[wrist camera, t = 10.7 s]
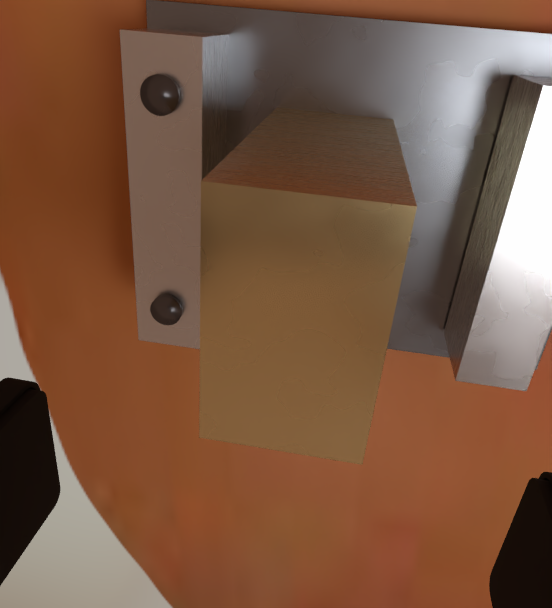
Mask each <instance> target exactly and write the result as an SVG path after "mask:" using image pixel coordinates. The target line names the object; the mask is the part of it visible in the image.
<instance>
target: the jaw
mask: <svg viewBox="0 0 552 608" xmlns="http://www.w3.org/2000/svg"><path fill="white" fill-rule="evenodd" d="M551 326H552V78H544V77H533V76H522V75H513V79H512V82H511V86H510V90H509V93H508V97H507V101H506V105H505V108H504V112H503V116H502V119H501V123H500V127H499V130H498V134H497V138H496V142H495V145H494V149H493V153H492V156H491V160H490V164H489V167H488V171H487V175H486V179H485V182H484V186H483V190H482V193H481V197H480V201H479V204H478V208H477V212H476V216H475V219H474V223H473V227H472V230H471V234H470V238H469V241H468V245H467V249H466V253H465V256H464V260H463V264H462V267H461V271H460V275H459V279H458V282H457V286H456V290H455V293H454V297H453V301H452V304H451V308H450V312H449V316H448V319H447V323H446V327H445V330H444V336H445V340H446V344H447V348H448V352H449V357H450V361H451V365H452V369H453V373H454V377H455V381H462V382H469V383H475V384H482V385H489V386H496V387H502V388H509V389H516V390H522V391H527V388H528V385H529V383H530V380H531V378H532V375H533V372H534V370H535V367H536V365H537V362H538V359H539V357H540V354H541V352H542V349H543V346H544V344H545V341H546V339H547V336H548V333H549V331H550V328H551Z"/></svg>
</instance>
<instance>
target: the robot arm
mask: <svg viewBox="0 0 552 608" xmlns="http://www.w3.org/2000/svg"><path fill="white" fill-rule="evenodd" d="M59 495H60V482H59V475H58V469H57V462H56V456H55V449H54V443H53V436H52V430H51V423H50V416H49V410H48V403H47V397H46V394H45V393H44V392H43V391H40V388H39V385H38V384H37V383H35V382H30V381H25V380H19V379H13V378H5V379H3V380H2V381H0V585H1V584H2V582H3V581H4V579H5V578H6V577H7V575H8V574H9V572H10V571H11V569H12V568H13V566H14V565H15V563H16V562H17V560H18V559H19V558H20V556H21V555H22V553H23V552H24V550H25V549H26V547H27V546H28V544H29V543H30V542H31V540H32V539H33V537H34V536H35V534H36V533H37V531H38V530H39V529H40V527H41V526H42V524H43V523H44V521H45V520H46V518H47V517H48V515H49V514H50V513H51V511H52V510H53V508H54V506H55V505H56V503H57V501H58V498H59ZM489 587H490V596H491V601H492V606H493V608H552V473H550V472H543V473H542V474H541V475H540V477H539V479H537V478H531V479H530V480H529V482H528V484H527V487H526V489H525V492H524V494H523V496H522V499H521V501H520V504H519V506H518V509H517V511H516V513H515V516H514V518H513V521H512V523H511V526H510V528H509V530H508V533H507V535H506V538H505V540H504V543H503V545H502V547H501V550H500V552H499V555H498V557H497V560H496V562H495V564H494V567H493V569H492V572H491V575H490V584H489Z"/></svg>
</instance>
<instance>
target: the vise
mask: <svg viewBox="0 0 552 608" xmlns="http://www.w3.org/2000/svg"><path fill="white" fill-rule="evenodd" d="M146 9H147V29H120V44H121V60H122V77H123V93H124V109H125V126H126V142H127V158H128V175H129V191H130V208H131V224H132V240H133V257H134V273H135V289H136V306H137V322H138V338H139V340H142V341H149V342H155V343H162V344H169V345H175V346H182V347H189V348H195V349H200V240H201V180H202V179H203V178H204V177H206V176H207V175H208V174H209V173H210V172H211V171H212V170H213V169H214V168H215V167H216V166H217V165H218V164H219V163H220V162H221V161H222V160H223V159H224V158H225V157H226V156H227V155H228V154H229V153H230V152H231V151H232V150H233V149H234V148H236V147H237V146H238V145H239V144H240V143H241V142H242V141H243V140H244V139H245V138H246V137H247V136H248V135H249V134H250V133H251V132H252V131H253V130H254V129H255V128H256V127H257V126H258V125H259V124H260V123H261V122H262V121H263V120H264V119H266V118H267V117H268V116H269V115H270V114H271V113H272V112H273V111H274V110H275V109H276V108H286V109H296V110H306V111H316V112H325V113H335V114H345V115H354V116H364V117H374V118H383V119H393V120H394V124H395V128H396V131H397V135H398V139H399V142H400V146H401V150H402V153H403V157H404V161H405V164H406V168H407V172H408V175H409V179H410V183H411V186H412V190H413V194H414V197H415V201H416V205H417V209H416V214H415V219H414V223H413V228H412V233H411V237H410V242H409V247H408V252H407V256H406V261H405V266H404V270H403V275H402V280H401V285H400V289H399V294H398V299H397V303H396V308H395V313H394V317H393V322H392V327H391V332H390V336H389V341H388V346H387V349H394V350H401V351H408V352H415V353H422V354H429V355H436V356H443V357H449V352H448V348H447V344H446V340H445V336H444V330H445V327H446V323H447V319H448V316H449V312H450V308H451V304H452V301H453V297H454V293H455V290H456V286H457V282H458V279H459V275H460V271H461V267H462V264H463V260H464V256H465V253H466V249H467V245H468V241H469V238H470V234H471V230H472V227H473V223H474V219H475V216H476V212H477V208H478V204H479V201H480V197H481V193H482V190H483V186H484V182H485V179H486V175H487V171H488V167H489V164H490V160H491V156H492V153H493V149H494V145H495V142H496V138H497V134H498V130H499V127H500V123H501V119H502V116H503V112H504V108H505V105H506V101H507V97H508V93H509V90H510V86H511V82H512V79H513V75H522V76H533V77H544V78H552V34H545V33H533V32H521V31H509V30H498V29H486V28H474V27H462V26H451V25H439V24H427V23H415V22H403V21H392V20H380V19H368V18H356V17H345V16H333V15H321V14H309V13H298V12H286V11H274V10H262V9H251V8H239V7H227V6H215V5H204V4H192V3H180V2H168V1H157V0H146ZM551 330H552V326H551V328H550V331H549V333H548V336H547V339H546V341H545V344H544V346H543V349H542V352H541V354H540V357H539V359H538V362H537V365H536V367H535V370H536V369H537V366H538V364H539V361H540V358H541V356H542V353H543V351H544V348H545V345H546V343H547V340H548V338H549V335H550V332H551Z"/></svg>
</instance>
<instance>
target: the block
mask: <svg viewBox="0 0 552 608" xmlns="http://www.w3.org/2000/svg"><path fill="white" fill-rule="evenodd" d="M416 209H417V205H416V201H415V197H414V194H413V190H412V186H411V183H410V179H409V175H408V172H407V168H406V164H405V161H404V157H403V153H402V150H401V146H400V142H399V139H398V135H397V131H396V128H395V124H394V120H393V119H383V118H374V117H364V116H354V115H345V114H335V113H325V112H316V111H306V110H296V109H286V108H276V109H275V110H274V111H273V112H272V113H271V114H270V115H269V116H268V117H267V118H266V119H264V120H263V121H262V122H261V123H260V124H259V125H258V126H257V127H256V128H255V129H254V130H253V131H252V132H251V133H250V134H249V135H248V136H247V137H246V138H245V139H244V140H243V141H242V142H241V143H240V144H239V145H238V146H237V147H236V148H234V149H233V150H232V151H231V152H230V153H229V154H228V155H227V156H226V157H225V158H224V159H223V160H222V161H221V162H220V163H219V164H218V165H217V166H216V167H215V168H214V169H213V170H212V171H211V172H210V173H209V174H208V175H207V176H206V177H204V178H203V179H202V180H201V240H200V407H199V438H205V439H211V440H217V441H223V442H229V443H235V444H241V445H247V446H253V447H259V448H265V449H271V450H277V451H283V452H289V453H295V454H301V455H307V456H313V457H319V458H325V459H331V460H337V461H343V462H349V463H355V464H361V465H362V464H363V459H364V454H365V449H366V445H367V440H368V435H369V431H370V426H371V421H372V416H373V412H374V407H375V402H376V398H377V393H378V388H379V383H380V379H381V374H382V369H383V365H384V360H385V355H386V350H387V346H388V341H389V336H390V332H391V327H392V322H393V317H394V313H395V308H396V303H397V299H398V294H399V289H400V285H401V280H402V275H403V270H404V266H405V261H406V256H407V252H408V247H409V242H410V237H411V233H412V228H413V223H414V219H415V214H416Z"/></svg>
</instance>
